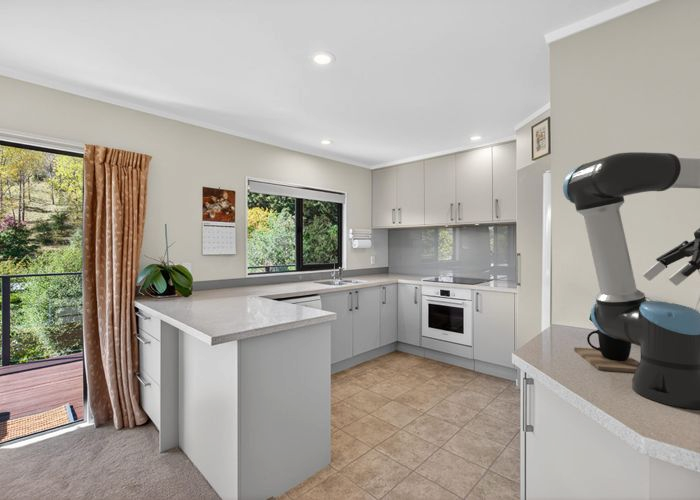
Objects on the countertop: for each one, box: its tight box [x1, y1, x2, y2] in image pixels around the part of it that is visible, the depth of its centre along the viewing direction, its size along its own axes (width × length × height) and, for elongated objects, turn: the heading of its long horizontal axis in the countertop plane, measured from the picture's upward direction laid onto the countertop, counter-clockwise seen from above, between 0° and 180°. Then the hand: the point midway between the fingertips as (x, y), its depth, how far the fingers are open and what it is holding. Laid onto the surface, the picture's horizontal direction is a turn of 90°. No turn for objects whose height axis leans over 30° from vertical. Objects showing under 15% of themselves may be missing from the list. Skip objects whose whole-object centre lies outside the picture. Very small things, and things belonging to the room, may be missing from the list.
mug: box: [586, 329, 632, 361], centre depth 112 cm, size 12×9×10 cm
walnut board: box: [573, 346, 640, 374], centre depth 112 cm, size 20×14×1 cm
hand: (658, 280), depth 106 cm, fingers open, 13 cm apart
